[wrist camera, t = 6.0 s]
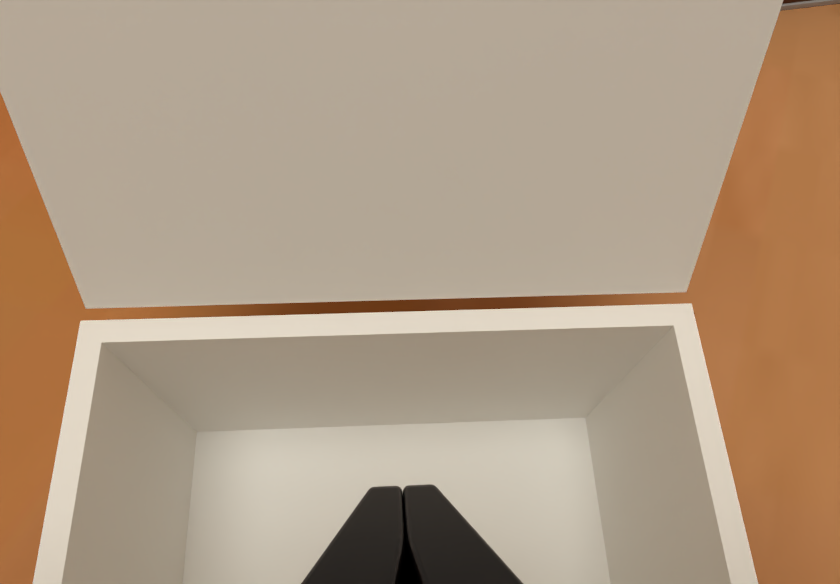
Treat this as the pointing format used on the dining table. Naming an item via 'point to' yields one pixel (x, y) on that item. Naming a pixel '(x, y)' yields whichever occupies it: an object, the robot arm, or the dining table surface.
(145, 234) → the carton flap
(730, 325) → the dining table surface
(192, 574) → the carton
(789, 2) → the food container
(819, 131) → the dining table surface
